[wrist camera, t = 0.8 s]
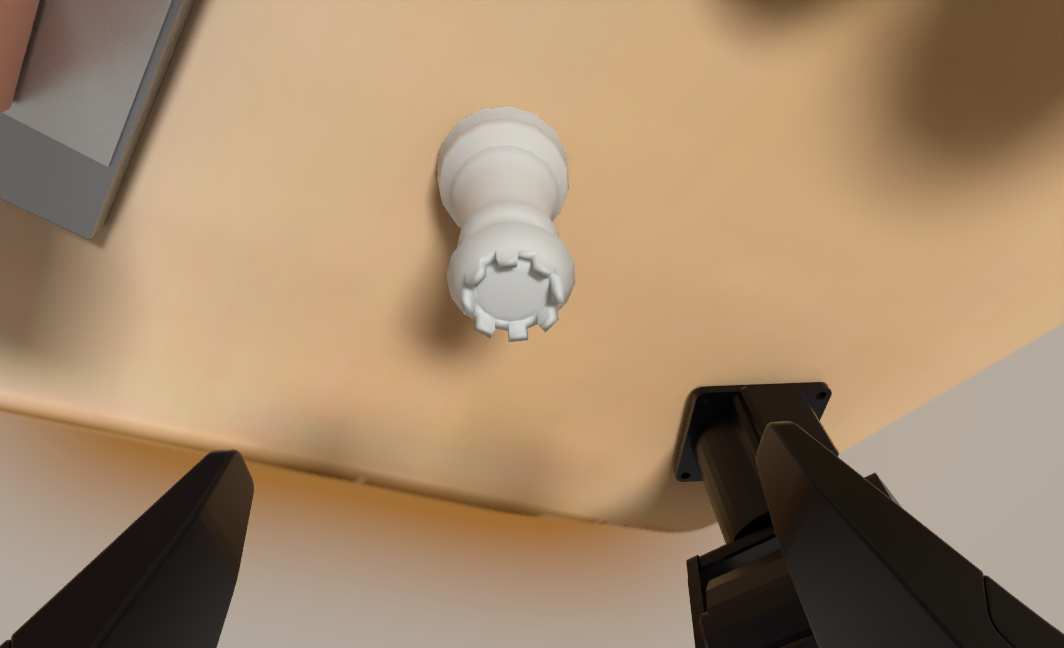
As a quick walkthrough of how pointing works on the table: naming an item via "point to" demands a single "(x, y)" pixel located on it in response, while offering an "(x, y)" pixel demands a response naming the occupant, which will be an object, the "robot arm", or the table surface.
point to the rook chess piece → (506, 220)
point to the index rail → (84, 104)
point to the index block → (13, 44)
